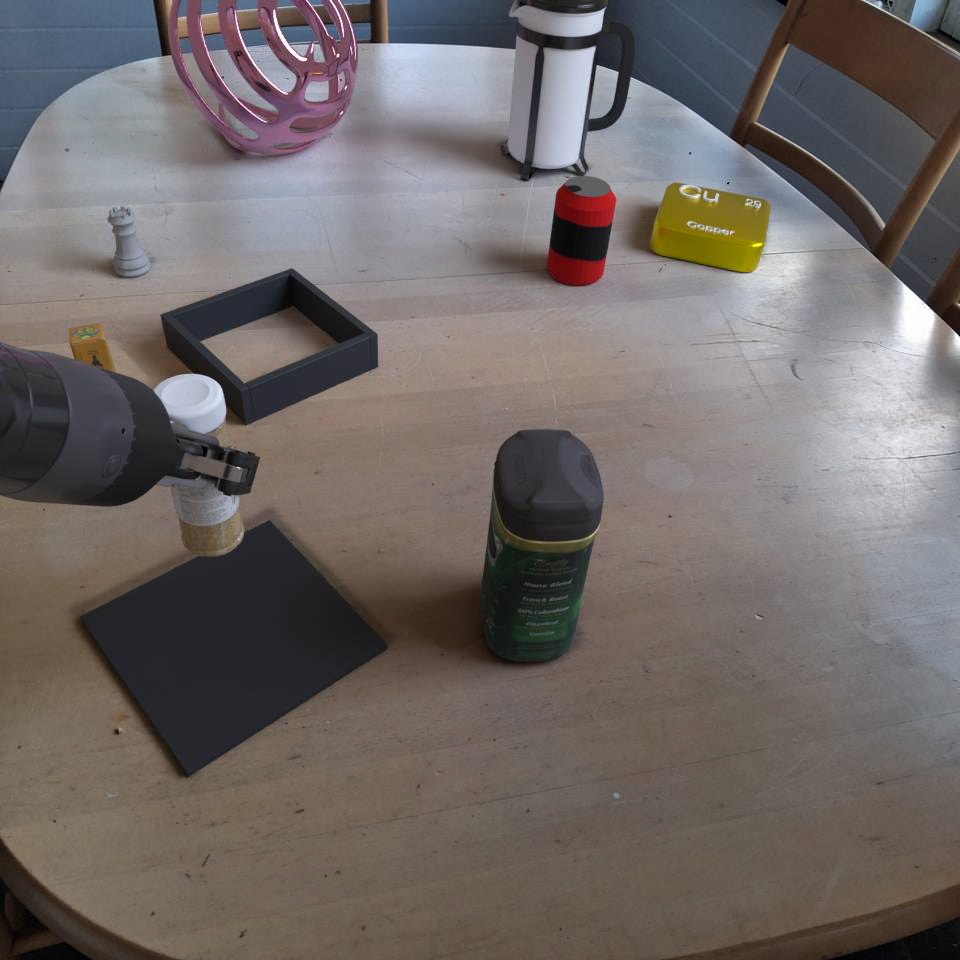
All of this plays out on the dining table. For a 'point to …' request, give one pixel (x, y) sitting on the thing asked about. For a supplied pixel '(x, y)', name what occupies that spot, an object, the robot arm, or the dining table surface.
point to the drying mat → (230, 643)
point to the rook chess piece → (127, 245)
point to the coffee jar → (539, 543)
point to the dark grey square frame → (286, 382)
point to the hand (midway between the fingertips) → (216, 460)
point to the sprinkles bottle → (202, 408)
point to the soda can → (581, 230)
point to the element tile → (711, 227)
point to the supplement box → (91, 346)
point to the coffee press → (560, 81)
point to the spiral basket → (288, 104)
